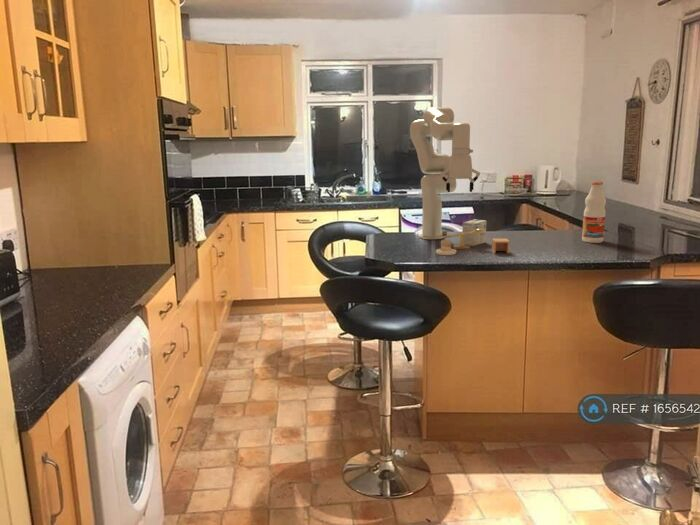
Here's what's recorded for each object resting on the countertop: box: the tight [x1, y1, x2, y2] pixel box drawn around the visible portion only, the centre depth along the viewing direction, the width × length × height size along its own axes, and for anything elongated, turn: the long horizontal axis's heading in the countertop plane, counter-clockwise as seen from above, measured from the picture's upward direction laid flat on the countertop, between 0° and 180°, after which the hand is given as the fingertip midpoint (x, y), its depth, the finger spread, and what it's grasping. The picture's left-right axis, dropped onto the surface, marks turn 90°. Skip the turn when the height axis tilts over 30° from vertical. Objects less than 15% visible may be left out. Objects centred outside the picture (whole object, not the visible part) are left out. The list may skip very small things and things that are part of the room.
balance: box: [440, 228, 484, 250], centre depth 266 cm, size 5×20×9 cm, turn 86°
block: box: [440, 239, 452, 251], centre depth 257 cm, size 4×4×4 cm
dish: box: [435, 248, 457, 256], centre depth 256 cm, size 9×9×1 cm
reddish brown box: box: [491, 238, 510, 255], centre depth 256 cm, size 6×6×5 cm
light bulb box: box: [462, 218, 487, 247], centre depth 274 cm, size 11×7×11 cm, turn 135°
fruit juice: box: [581, 181, 607, 244], centre depth 272 cm, size 9×9×28 cm
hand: (459, 191), depth 256 cm, fingers open, 9 cm apart
